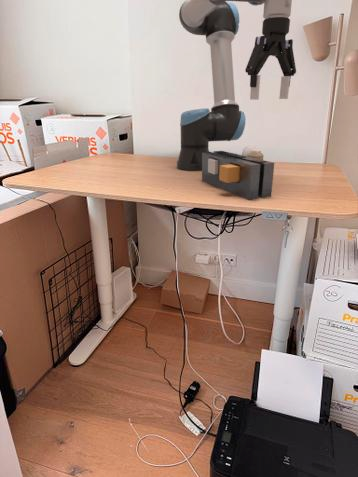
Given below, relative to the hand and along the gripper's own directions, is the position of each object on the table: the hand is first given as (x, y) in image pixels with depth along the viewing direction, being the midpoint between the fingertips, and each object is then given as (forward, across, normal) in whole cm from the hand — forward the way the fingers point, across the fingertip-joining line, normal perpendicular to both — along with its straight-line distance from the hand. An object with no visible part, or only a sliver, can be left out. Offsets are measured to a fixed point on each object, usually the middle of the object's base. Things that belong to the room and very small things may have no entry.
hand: (269, 99), depth 104 cm
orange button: (+22, -18, -2) cm, 29 cm away
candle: (+27, +4, +8) cm, 29 cm away
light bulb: (+27, +10, +15) cm, 33 cm away
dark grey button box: (+27, -11, +2) cm, 29 cm away
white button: (+23, -13, +9) cm, 27 cm away
